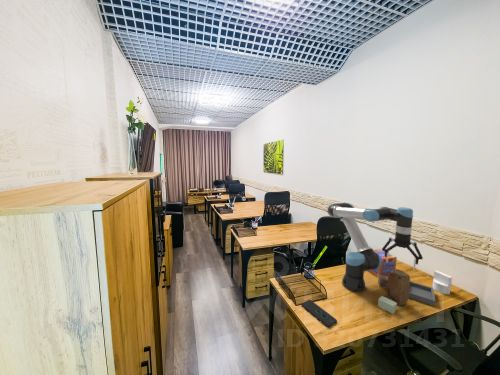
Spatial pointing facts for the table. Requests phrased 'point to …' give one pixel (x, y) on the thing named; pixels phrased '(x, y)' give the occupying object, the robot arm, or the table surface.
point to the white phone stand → (442, 282)
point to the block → (398, 286)
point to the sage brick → (387, 304)
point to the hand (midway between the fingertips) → (400, 265)
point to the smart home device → (319, 313)
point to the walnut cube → (383, 281)
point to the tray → (421, 293)
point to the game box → (384, 264)
